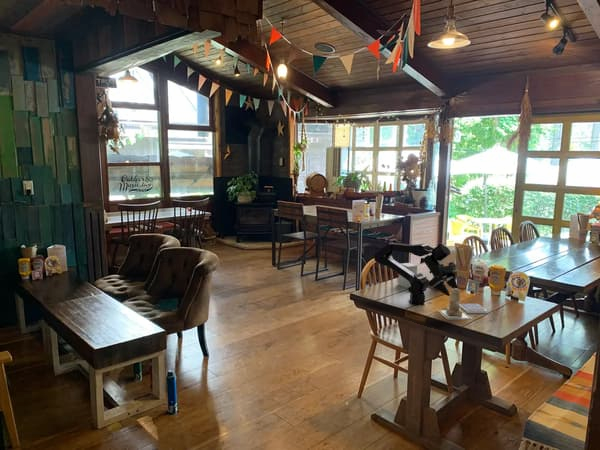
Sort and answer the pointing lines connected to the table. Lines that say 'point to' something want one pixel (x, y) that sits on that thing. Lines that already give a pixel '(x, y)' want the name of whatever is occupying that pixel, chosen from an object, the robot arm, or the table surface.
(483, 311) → the ink pad
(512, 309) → the table surface
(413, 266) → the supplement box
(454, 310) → the wooden stamp
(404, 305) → the table surface
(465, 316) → the marked card
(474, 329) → the table surface
